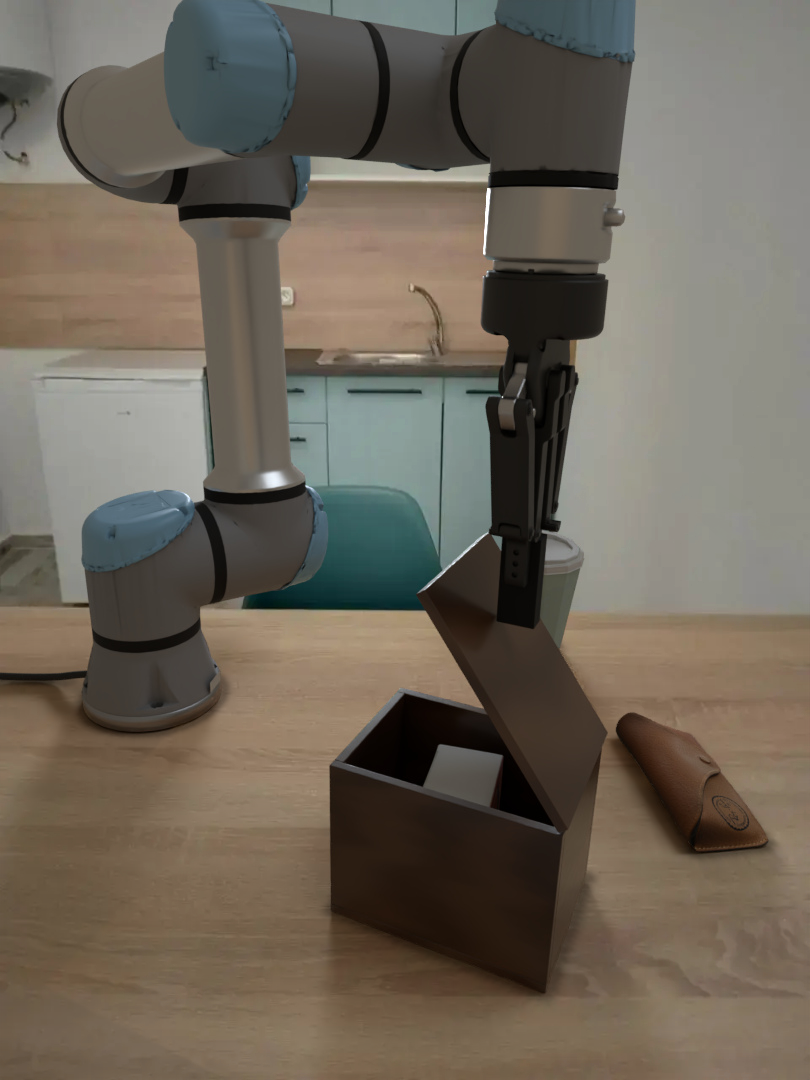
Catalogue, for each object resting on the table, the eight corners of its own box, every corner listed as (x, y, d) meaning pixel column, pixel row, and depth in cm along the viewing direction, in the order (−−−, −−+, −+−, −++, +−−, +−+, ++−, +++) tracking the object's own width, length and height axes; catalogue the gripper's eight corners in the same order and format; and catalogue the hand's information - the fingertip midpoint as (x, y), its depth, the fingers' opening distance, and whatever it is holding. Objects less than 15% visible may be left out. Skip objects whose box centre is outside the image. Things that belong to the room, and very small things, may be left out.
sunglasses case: (777, 842, 74) (752, 791, 72) (708, 879, 74) (681, 830, 72) (686, 729, 91) (664, 685, 88) (630, 761, 91) (606, 717, 89)
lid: (415, 594, 53) (424, 589, 53) (481, 535, 64) (489, 531, 64) (558, 833, 55) (568, 830, 54) (599, 735, 65) (608, 732, 65)
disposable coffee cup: (587, 642, 111) (599, 537, 106) (555, 675, 102) (567, 563, 97) (515, 622, 116) (523, 521, 111) (479, 652, 108) (486, 544, 102)
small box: (481, 927, 64) (489, 815, 60) (410, 912, 65) (414, 801, 61) (497, 857, 71) (505, 753, 67) (434, 844, 72) (438, 741, 69)
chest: (330, 911, 66) (328, 765, 61) (397, 817, 77) (400, 687, 72) (545, 994, 59) (562, 837, 54) (585, 878, 70) (603, 739, 65)
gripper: (583, 273, 43) (545, 674, 51) (628, 267, 54) (591, 597, 62) (448, 268, 46) (432, 648, 54) (518, 262, 57) (496, 579, 65)
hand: (517, 620), depth 58 cm, fingers closed
